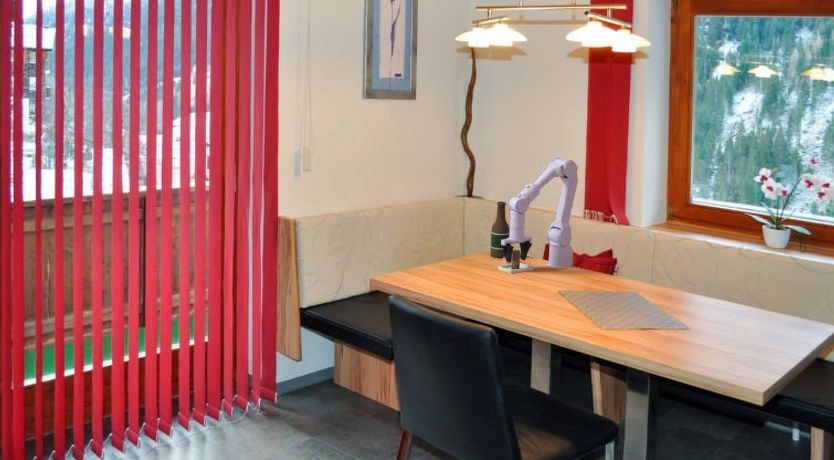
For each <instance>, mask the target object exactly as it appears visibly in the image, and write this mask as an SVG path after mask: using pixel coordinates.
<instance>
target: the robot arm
mask: <svg viewBox="0 0 834 460" xmlns="http://www.w3.org/2000/svg"><path fill="white" fill-rule="evenodd" d="M578 170H579V166H578V165H577V164H576V161H574V160H572V159H565V158H561V157H555V158H553V160H552V161H551V162H549V163H548V166H547V168H546V169H544V171H543V173H542V174H541V175H540V176H539V177H538V178H537V179H536V180H535V182H534V183H529V184H526V185H525V186H524V189H523V190H522V191H520V193H517V195H516V196H515V197H511V199H510V200H509V202H508V204H507V208H508V210H509V214H510V220H509V221H510V222H509V223H510V225H509V232H510V233H509V238H507V239H503V240H501V247H502V249H503V251H504V253H505V257H506V262H509V263H510V262H511V259H512V251H513V250H514V249H515V247H514V246H513V244H514V245H515V244H519V248H520V261H526V259H527V256H528V253H529V251H530V249H531V247H532V246H533V243H532V242H533V236H529V235H528V236H525V229H526V228H525V224H526V223H525V222H526V212H527V211H528V210H529V207H530V205H531V203H532V202H533V201H534V200H535V199H536V198H537V197H538V196H539V195H540V194H541V193H540V192H541V191H540V190H541V189H542V188H544V187H545V186H546V185H547V184H548V183H549V182H550V181H551V180H553V179H554V178H560V180H561V181H562V182H563V184H562V189H561V193H560V198H559V202H558V207H557V211H556V216H555V220H554V221H552V222H551V223H550V225H549V229H548V230H547V232H546V239H547V240H548V244H549V250H548V251H549V253H548V254H549V255H548V263H544V265H545V266H549V267H552V268H555V269H560V268H561V269H562V268H568V267H573V266H574V264H573V259H574V255H573V254H574V250H573V247H572V245H571V244H570V243H571V241H572V227H571V225H570V218H571V214H572V210H573V206H574V205H573V204H574V201H575V198H576V197H575V196H576V191H577V187H578V184H579V183H578V182H579V178H578Z"/></svg>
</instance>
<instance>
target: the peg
mask: <svg viewBox="0 0 834 460" xmlns="http://www.w3.org/2000/svg"><path fill="white" fill-rule="evenodd" d="M520 261H521V250H519V249H513V251H512V265H511V269H513V270H515V269H519V266H520V263H521V262H520Z"/></svg>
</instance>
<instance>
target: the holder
mask: <svg viewBox="0 0 834 460" xmlns="http://www.w3.org/2000/svg"><path fill="white" fill-rule="evenodd" d="M507 264H512V259H511V262H510V263H509V262H506V257H503V258H502V265H507Z"/></svg>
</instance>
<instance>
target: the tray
mask: <svg viewBox="0 0 834 460" xmlns="http://www.w3.org/2000/svg"><path fill="white" fill-rule="evenodd" d="M511 265H512V264H507V265H505V264H502V265H496V269H497V270H499V271H502V272H505V273H509V274H517V273H523V272H530V271H535V266H533V265H532V266H531V265H529V264H525V263H522V262H520V266H519V269H515V270H513V269H511Z"/></svg>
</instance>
